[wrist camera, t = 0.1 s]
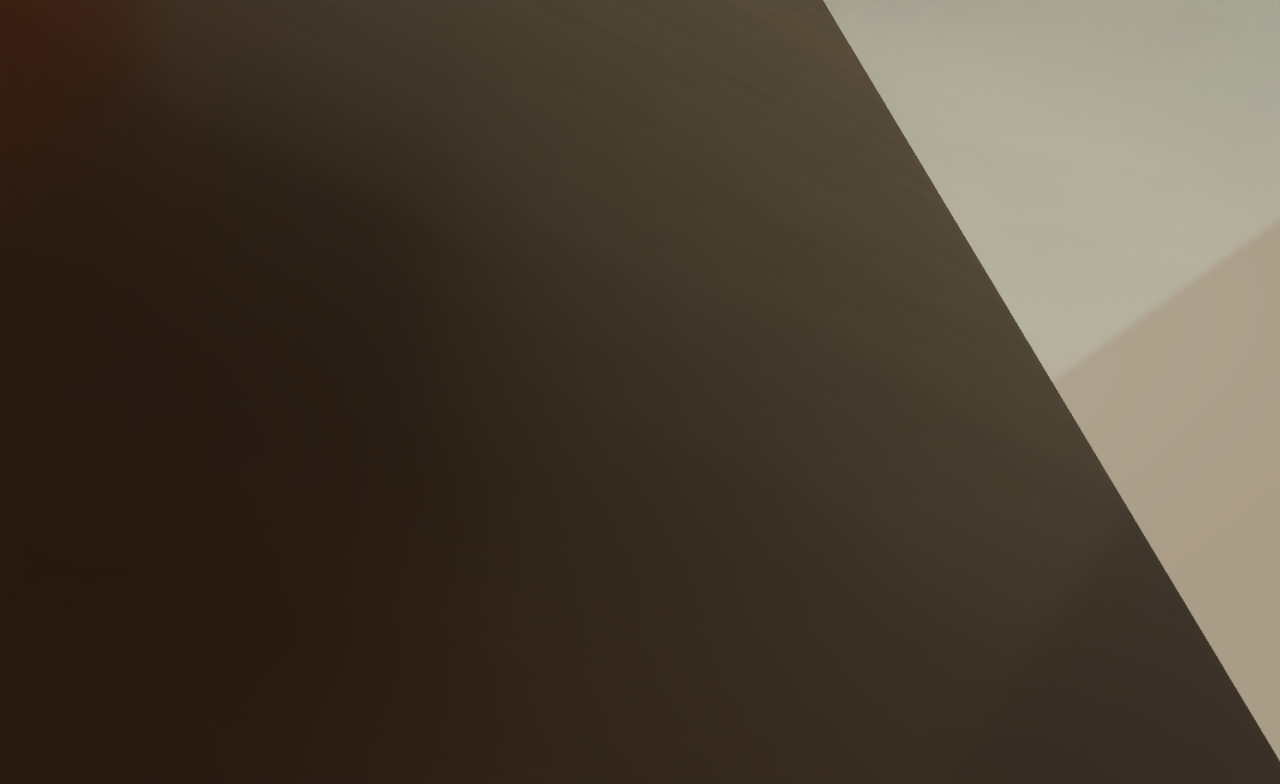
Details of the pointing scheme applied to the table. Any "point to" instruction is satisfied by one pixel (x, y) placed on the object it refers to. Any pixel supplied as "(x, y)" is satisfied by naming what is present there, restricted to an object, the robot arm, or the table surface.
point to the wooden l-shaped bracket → (537, 421)
